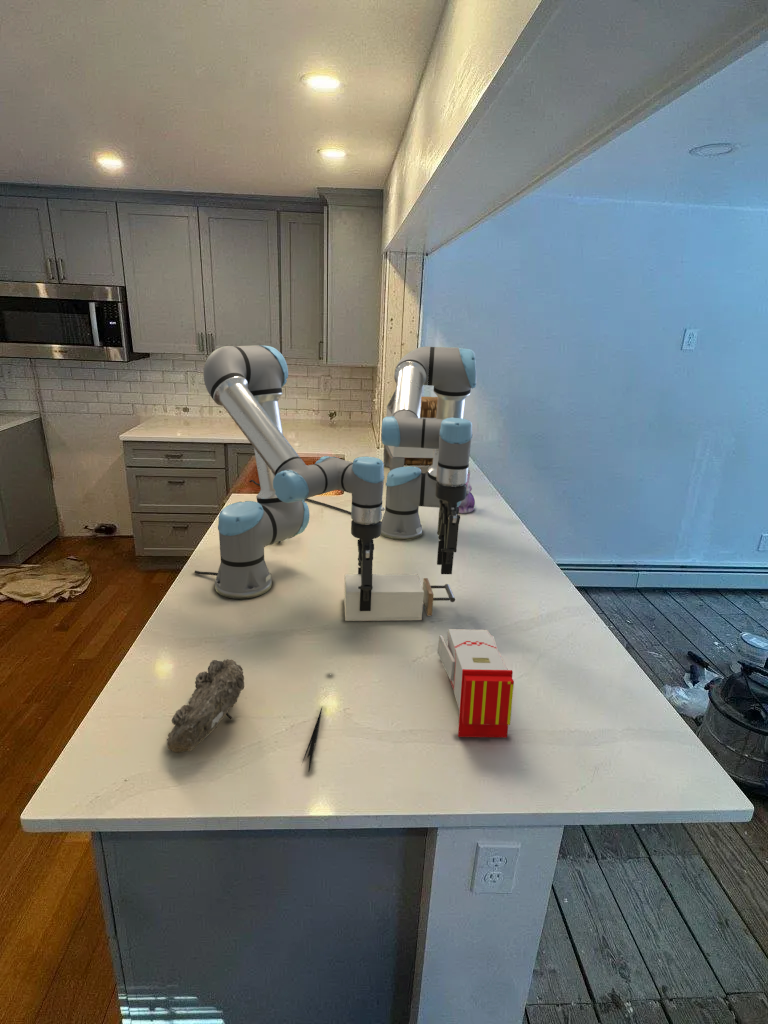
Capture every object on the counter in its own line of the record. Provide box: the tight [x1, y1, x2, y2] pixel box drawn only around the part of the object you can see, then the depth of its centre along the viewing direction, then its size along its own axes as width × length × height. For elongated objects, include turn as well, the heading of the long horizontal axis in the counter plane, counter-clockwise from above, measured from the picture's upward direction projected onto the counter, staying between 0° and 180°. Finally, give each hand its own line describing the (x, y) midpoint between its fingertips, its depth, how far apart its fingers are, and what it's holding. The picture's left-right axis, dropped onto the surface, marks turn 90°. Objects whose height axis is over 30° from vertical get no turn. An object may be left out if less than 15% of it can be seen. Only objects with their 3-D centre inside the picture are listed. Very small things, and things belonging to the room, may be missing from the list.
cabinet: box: [343, 573, 424, 622], centre depth 148 cm, size 20×10×8 cm, turn 95°
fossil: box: [166, 658, 245, 754], centre depth 106 cm, size 22×10×15 cm
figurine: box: [458, 472, 476, 514], centre depth 224 cm, size 9×10×15 cm
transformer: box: [383, 391, 438, 472], centre depth 268 cm, size 34×33×41 cm
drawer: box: [422, 577, 456, 617], centre depth 148 cm, size 24×9×6 cm, turn 95°
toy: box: [437, 628, 515, 738], centre depth 117 cm, size 12×13×30 cm
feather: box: [301, 673, 332, 771], centre depth 108 cm, size 2×28×2 cm
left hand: (363, 599), depth 147 cm, fingers closed on cabinet, 10 cm apart
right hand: (444, 568), depth 146 cm, fingers open, 5 cm apart
